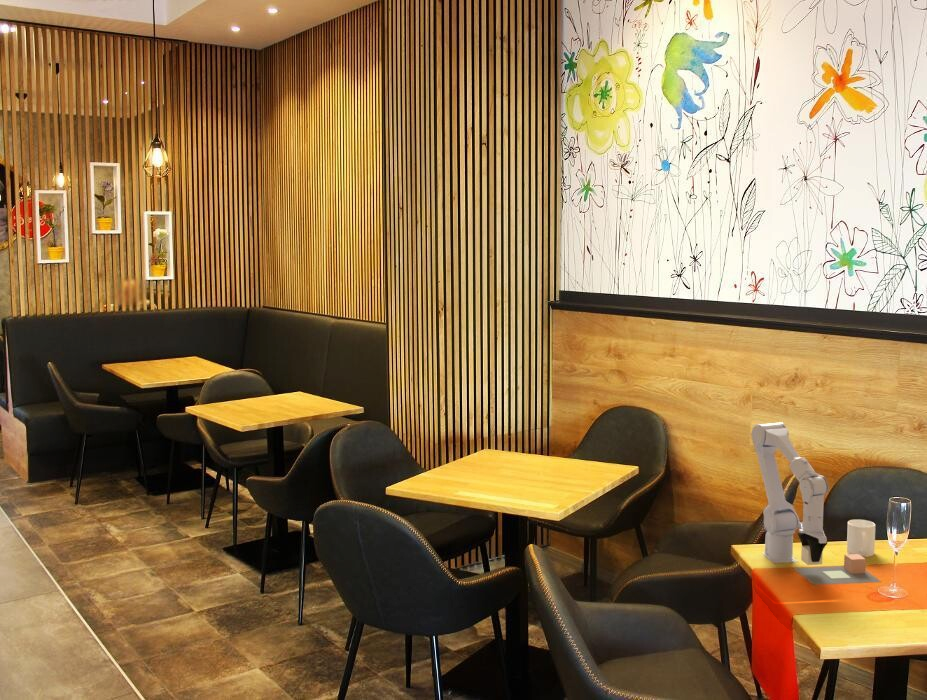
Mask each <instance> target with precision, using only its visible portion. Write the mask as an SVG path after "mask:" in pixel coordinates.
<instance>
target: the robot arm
mask: <svg viewBox="0 0 927 700" xmlns="http://www.w3.org/2000/svg"><path fill="white" fill-rule="evenodd" d="M789 435H790V434H789V429H788V428H787V427H786V425H785V423H784V422H782V421H779V422H772V423H762V424H761V423H757V424H755V425H753V428H752V430H751V432H750V436H751V440H752V443H753V448H754V451H755V452H756V455H757V456H756V457H757V460H758V461H757V462H758V464H759V468H760V469H759V470H760V472H761V476H762V481H763V484H764V488H765V489H764V490H765V493H766V497H767V501H768V504H767V505H766V507H765V508H764V509H763V511H762V514H763V525H764V527H765V528H764V529H765V530H766V533H765V537H764V540H765V541H764V552H761V553H762V554H763V555H764V556H765V557H766V558H767V559H768V560H770V561H771V562H772V563H775V564H777V563H798V560H797V559H796V558H794V557H793V555H794V554H793V552H794V551H793V550H794V547H793V546H794V541H793V540H794V534H796V530H798V532H797V536H798V538H799V540H800V542H801V547H802V546H809V547H810V552H811V560H812V562H819V560H820V557H821V554H822V555H823V552H822V551H824V549H825V548H826V546H827V545H828V540H827V536H826V534H825V531H824V529H823V527H824V504H825V503H824V501H825V500H824V499H825V495H826V494H828V492H829V488H830V487H829V483H828V481H827V479H826V477H825V476H824V475H820V473H817V472H816V471H815V469H814V468H813V467H812V465H811V464H810V463H809V461H808V460H807V458H806V457H801V456H800V454H799V453H798V451H797V450H796V448H795V447H794V444H793V443H792V442H791V440H790V438H789ZM777 449H778V450H779V451H780V453H782V455H783V456H784V457H785V458H786V460H787V461H788V462H789V469H790V472H791V473H792V474H793V476H794V477H795V478H796V479H797V481H798V483H799V491H800V493H801V499H802V501H803V505H802V509H803V510H802V521H801V522H800V517H799V515H798V514H797V512H796V510H795V506H794V505H793V504H791V503H790V502H788V501H787V500H786V496H785V491H784V488H783V484H782V480H781V479H782V478H781V476H780V472H779V467H778V464H777V460H776V456H775V453H776V450H777Z"/></svg>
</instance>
